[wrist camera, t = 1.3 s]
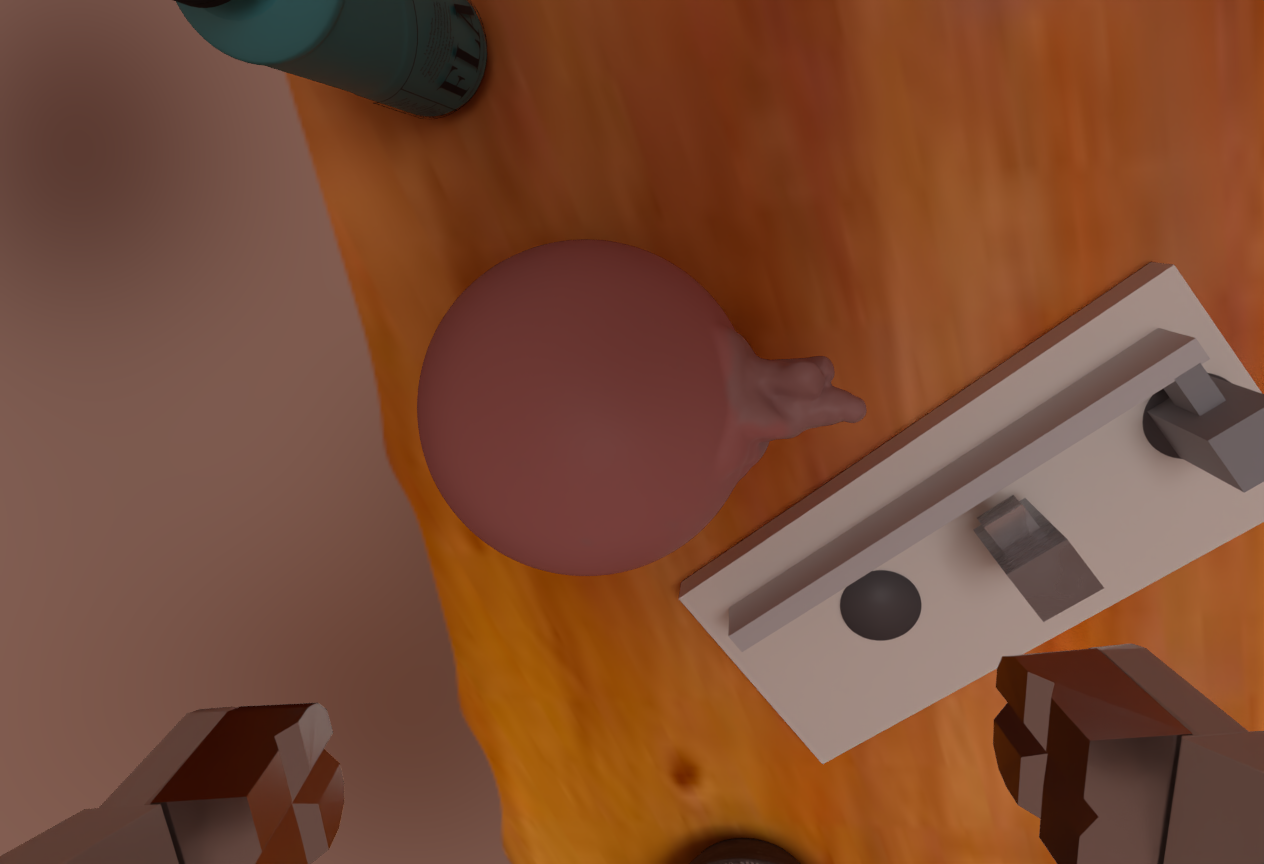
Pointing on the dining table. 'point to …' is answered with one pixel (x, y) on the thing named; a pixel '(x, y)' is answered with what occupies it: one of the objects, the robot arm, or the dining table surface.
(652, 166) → the dining table surface
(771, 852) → the planter
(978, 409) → the grey peg board
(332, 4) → the beverage bottle
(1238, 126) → the dining table surface
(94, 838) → the robot arm
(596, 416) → the balloon
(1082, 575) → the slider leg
